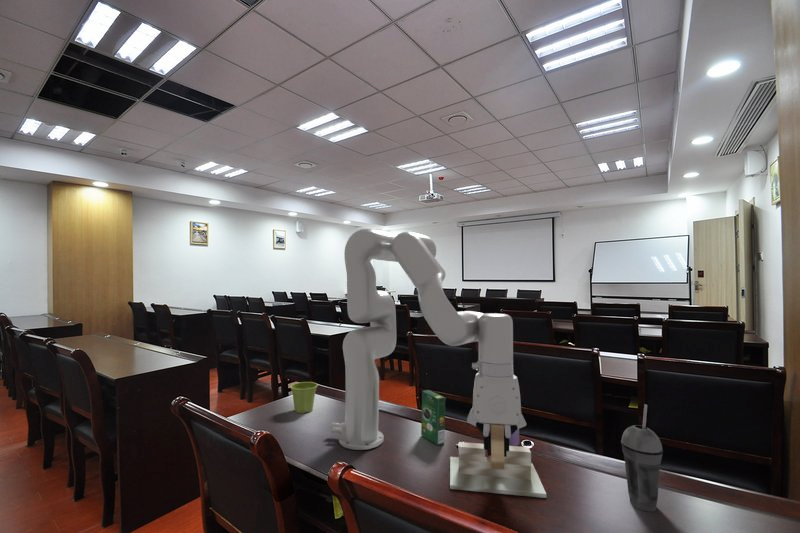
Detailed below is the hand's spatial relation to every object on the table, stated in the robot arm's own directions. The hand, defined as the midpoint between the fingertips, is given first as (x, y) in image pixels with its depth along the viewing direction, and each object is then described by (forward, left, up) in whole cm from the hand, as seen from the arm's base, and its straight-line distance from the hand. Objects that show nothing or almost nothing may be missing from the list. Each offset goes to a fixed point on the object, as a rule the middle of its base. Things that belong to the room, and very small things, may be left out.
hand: (496, 452), depth 78 cm
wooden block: (0, +3, -2) cm, 4 cm away
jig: (0, +4, -7) cm, 8 cm away
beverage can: (+6, +23, -8) cm, 25 cm away
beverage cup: (+29, -1, -8) cm, 30 cm away
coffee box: (-15, +22, -8) cm, 27 cm away
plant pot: (-61, +38, -8) cm, 72 cm away
